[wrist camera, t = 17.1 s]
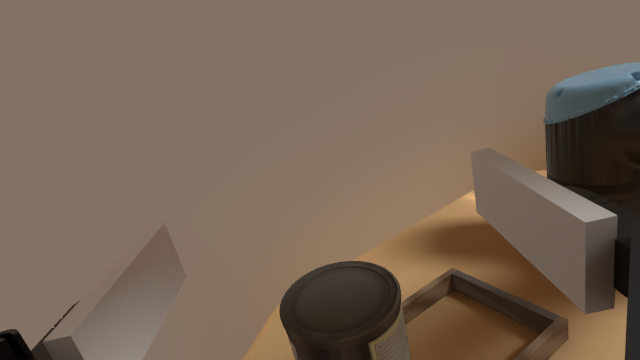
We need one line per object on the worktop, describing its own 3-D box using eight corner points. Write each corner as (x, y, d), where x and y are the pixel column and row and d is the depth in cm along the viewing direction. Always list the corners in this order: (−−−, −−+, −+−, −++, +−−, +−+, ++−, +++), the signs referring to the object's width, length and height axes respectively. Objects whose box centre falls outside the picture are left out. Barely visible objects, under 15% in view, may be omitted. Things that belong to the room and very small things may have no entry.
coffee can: (341, 497, 30) (299, 363, 25) (303, 398, 39) (267, 287, 35) (447, 434, 32) (426, 302, 28) (388, 356, 42) (364, 248, 37)
